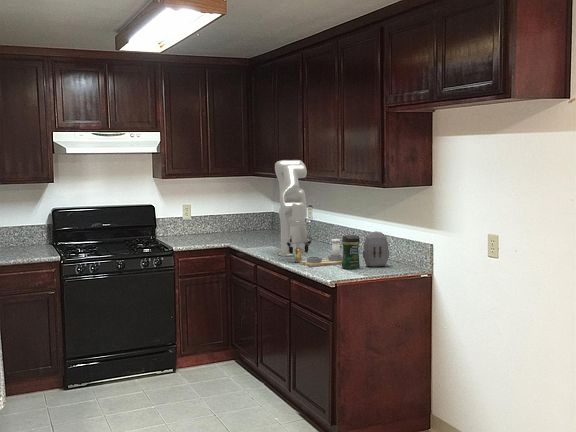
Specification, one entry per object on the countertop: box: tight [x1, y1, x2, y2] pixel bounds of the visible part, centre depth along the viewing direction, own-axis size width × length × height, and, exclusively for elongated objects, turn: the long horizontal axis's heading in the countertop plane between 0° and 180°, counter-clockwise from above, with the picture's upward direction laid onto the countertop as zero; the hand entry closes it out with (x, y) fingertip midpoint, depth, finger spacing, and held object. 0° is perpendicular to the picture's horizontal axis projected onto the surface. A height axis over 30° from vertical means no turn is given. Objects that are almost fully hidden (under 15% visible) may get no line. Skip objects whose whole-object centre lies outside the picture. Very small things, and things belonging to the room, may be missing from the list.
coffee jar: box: [341, 234, 361, 270], centre depth 359 cm, size 10×8×19 cm
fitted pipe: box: [327, 238, 343, 261], centre depth 378 cm, size 8×8×12 cm
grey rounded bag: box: [362, 231, 390, 268], centre depth 363 cm, size 15×8×20 cm, turn 92°
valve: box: [294, 247, 304, 264], centre depth 381 cm, size 6×5×9 cm
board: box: [299, 258, 342, 268], centre depth 376 cm, size 14×24×2 cm, turn 113°
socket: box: [306, 256, 323, 263], centre depth 373 cm, size 8×8×2 cm
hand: (298, 252), depth 380 cm, fingers open, 9 cm apart
